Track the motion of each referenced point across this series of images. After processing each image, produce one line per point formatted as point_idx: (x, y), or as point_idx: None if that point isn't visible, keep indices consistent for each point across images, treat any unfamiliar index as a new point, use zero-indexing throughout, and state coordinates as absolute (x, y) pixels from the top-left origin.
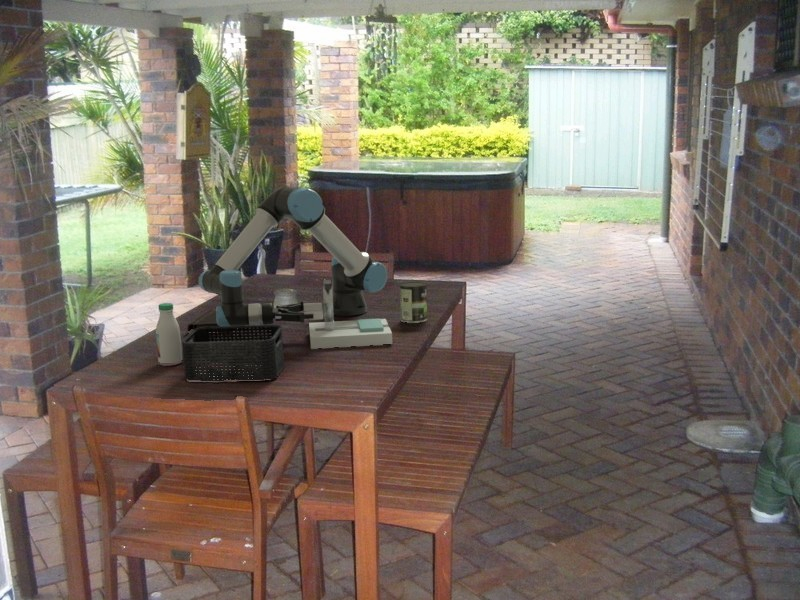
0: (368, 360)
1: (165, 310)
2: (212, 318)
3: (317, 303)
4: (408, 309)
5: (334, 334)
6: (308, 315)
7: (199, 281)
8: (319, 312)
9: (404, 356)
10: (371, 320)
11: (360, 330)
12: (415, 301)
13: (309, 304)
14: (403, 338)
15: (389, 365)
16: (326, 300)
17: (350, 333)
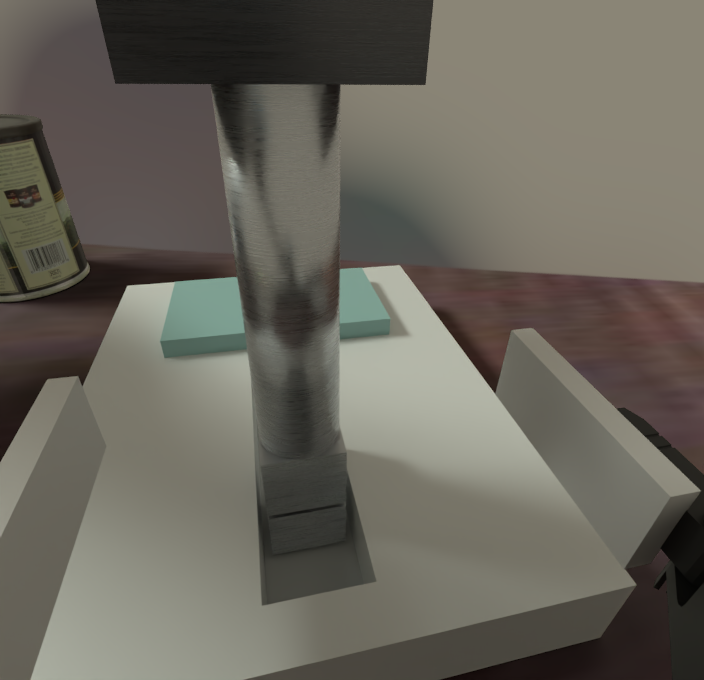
0: (645, 343)
1: None
2: None
3: (58, 417)
4: (53, 233)
5: (467, 429)
6: (675, 457)
7: None
8: (552, 356)
9: (539, 281)
10: (210, 299)
11: (375, 331)
12: (58, 190)
13: (15, 526)
14: None
15: (662, 300)
16: (339, 250)
17: (426, 364)
